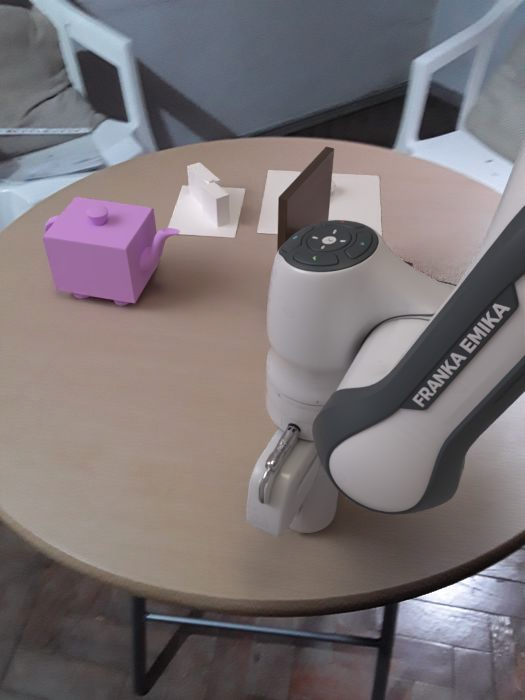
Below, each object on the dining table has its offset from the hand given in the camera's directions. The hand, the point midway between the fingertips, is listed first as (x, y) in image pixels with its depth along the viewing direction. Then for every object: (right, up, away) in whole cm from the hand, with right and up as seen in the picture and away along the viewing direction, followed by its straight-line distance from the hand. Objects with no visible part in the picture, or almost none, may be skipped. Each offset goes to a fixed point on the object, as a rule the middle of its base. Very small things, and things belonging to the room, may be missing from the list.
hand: (307, 481), depth 69 cm
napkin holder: (-14, +37, +45) cm, 60 cm away
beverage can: (0, -4, +4) cm, 5 cm away
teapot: (-25, +23, +31) cm, 46 cm away
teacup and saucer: (+5, +38, +47) cm, 61 cm away
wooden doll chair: (+7, +19, +27) cm, 34 cm away
